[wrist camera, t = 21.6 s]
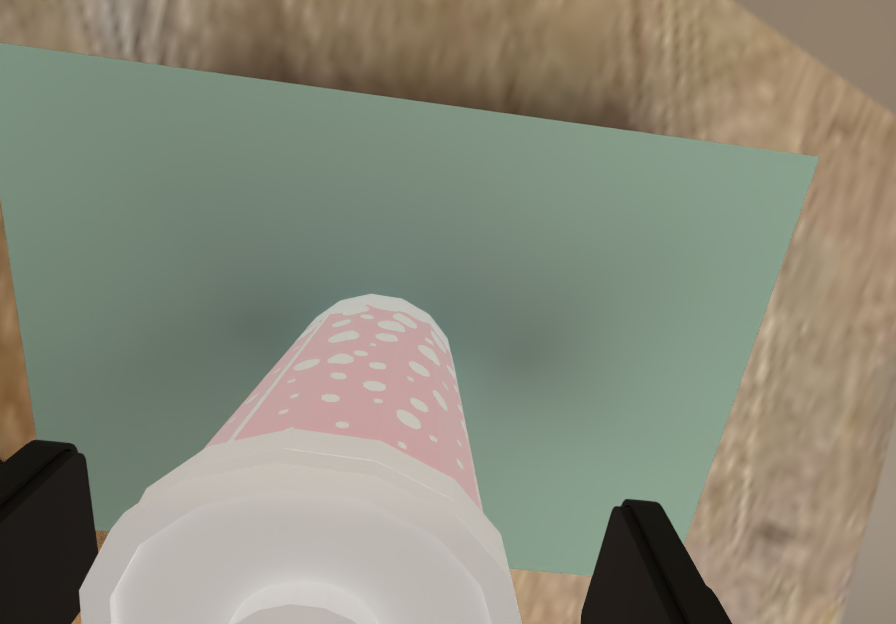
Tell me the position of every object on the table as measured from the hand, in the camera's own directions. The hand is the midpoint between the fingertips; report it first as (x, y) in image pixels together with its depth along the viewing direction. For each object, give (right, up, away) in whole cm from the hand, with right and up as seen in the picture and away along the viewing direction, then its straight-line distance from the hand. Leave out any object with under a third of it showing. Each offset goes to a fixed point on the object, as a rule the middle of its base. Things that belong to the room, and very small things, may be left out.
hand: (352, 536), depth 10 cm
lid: (0, +3, +7) cm, 8 cm away
